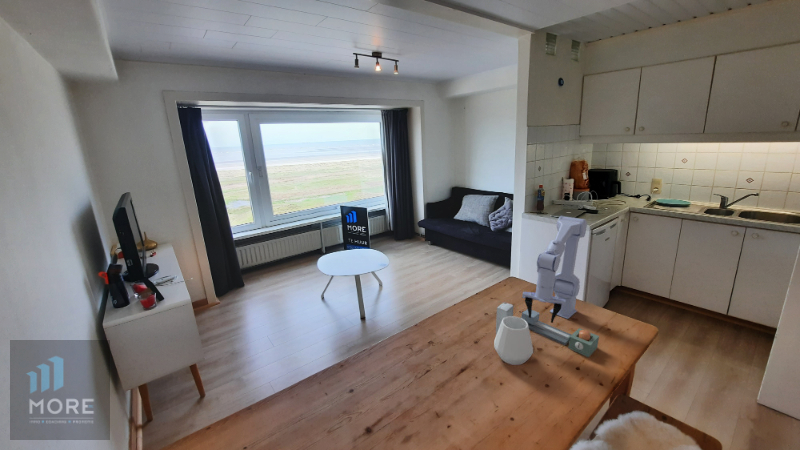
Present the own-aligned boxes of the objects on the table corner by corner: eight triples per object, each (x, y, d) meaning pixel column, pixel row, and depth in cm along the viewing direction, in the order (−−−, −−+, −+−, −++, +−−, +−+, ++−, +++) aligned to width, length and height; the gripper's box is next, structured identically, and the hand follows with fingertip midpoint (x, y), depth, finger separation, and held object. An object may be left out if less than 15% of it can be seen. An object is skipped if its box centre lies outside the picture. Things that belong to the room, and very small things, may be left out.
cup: (489, 362, 115) (491, 328, 111) (497, 341, 126) (499, 309, 123) (529, 373, 109) (533, 338, 105) (534, 350, 120) (537, 317, 116)
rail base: (525, 317, 141) (525, 313, 141) (572, 338, 126) (573, 333, 126) (516, 323, 137) (516, 319, 136) (564, 345, 122) (565, 340, 122)
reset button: (580, 338, 122) (581, 328, 121) (590, 342, 120) (592, 333, 119) (576, 342, 120) (577, 332, 119) (586, 347, 118) (588, 337, 116)
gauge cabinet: (577, 339, 126) (579, 328, 124) (597, 347, 121) (599, 336, 119) (567, 348, 121) (569, 337, 119) (588, 358, 115) (589, 345, 114)
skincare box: (505, 338, 128) (506, 311, 124) (494, 334, 131) (496, 307, 127) (512, 331, 132) (514, 305, 128) (502, 327, 135) (504, 301, 131)
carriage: (527, 316, 139) (528, 308, 138) (538, 321, 135) (539, 313, 134) (521, 320, 136) (522, 312, 135) (532, 325, 132) (533, 317, 131)
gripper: (522, 284, 119) (519, 318, 122) (567, 293, 113) (561, 328, 116) (525, 278, 125) (521, 311, 128) (567, 286, 119) (562, 320, 122)
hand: (540, 319), depth 122 cm, fingers open, 7 cm apart
